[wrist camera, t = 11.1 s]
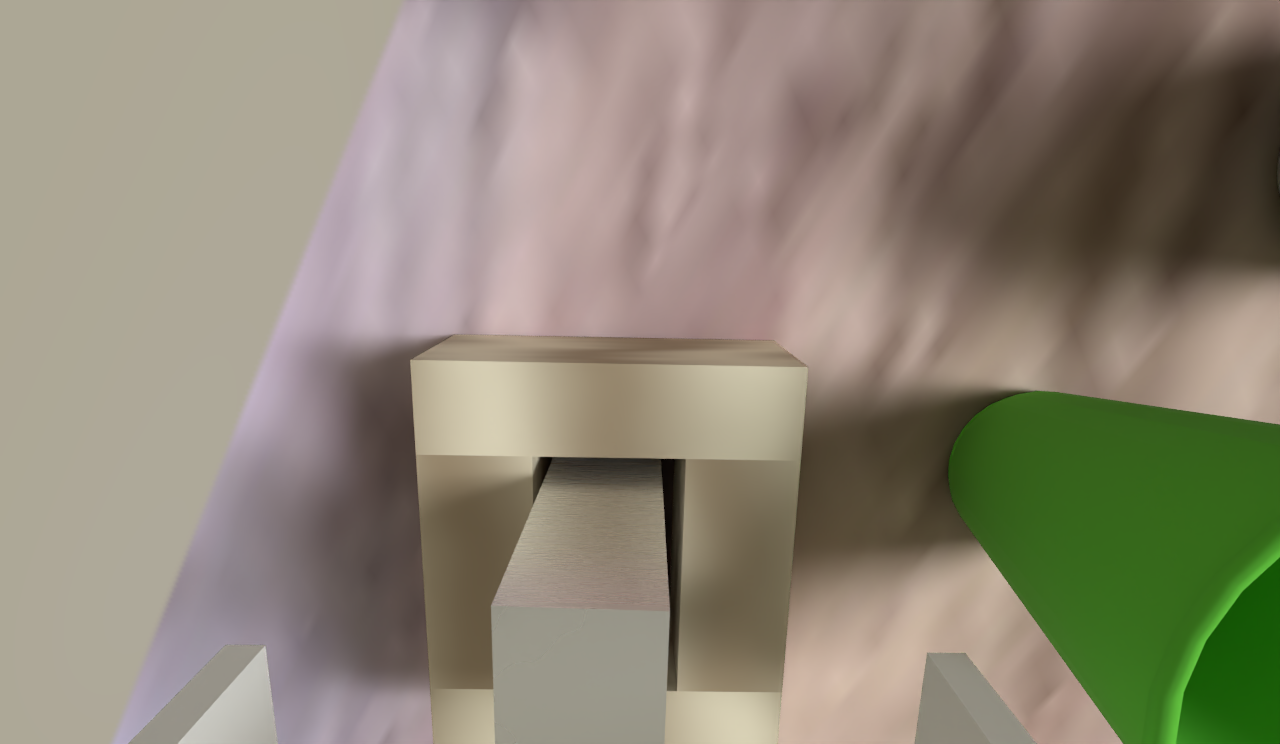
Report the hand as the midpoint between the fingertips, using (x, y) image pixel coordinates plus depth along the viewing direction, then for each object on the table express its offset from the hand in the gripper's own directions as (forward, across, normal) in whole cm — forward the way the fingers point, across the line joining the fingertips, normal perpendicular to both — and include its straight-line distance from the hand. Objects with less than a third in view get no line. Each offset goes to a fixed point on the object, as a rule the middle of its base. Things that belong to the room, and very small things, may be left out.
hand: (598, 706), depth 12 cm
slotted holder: (+9, 0, 0) cm, 9 cm away
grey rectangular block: (+9, 0, 0) cm, 9 cm away
